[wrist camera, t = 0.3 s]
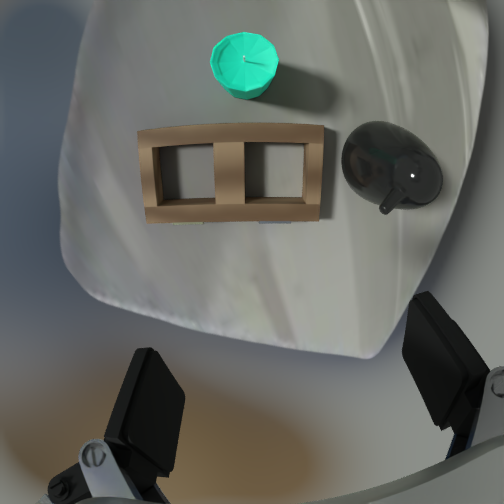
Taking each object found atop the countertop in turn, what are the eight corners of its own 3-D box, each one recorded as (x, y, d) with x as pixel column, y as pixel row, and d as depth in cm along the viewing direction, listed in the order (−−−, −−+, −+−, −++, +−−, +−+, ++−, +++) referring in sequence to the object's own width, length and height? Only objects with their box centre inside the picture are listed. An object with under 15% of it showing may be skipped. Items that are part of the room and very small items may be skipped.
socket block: (145, 129, 32) (137, 131, 30) (318, 124, 32) (324, 125, 30) (153, 218, 38) (147, 226, 35) (313, 216, 38) (318, 224, 35)
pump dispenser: (316, 146, 34) (359, 165, 20) (377, 107, 31) (446, 108, 17) (355, 207, 37) (406, 258, 24) (410, 169, 35) (479, 202, 21)
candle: (212, 87, 30) (194, 72, 19) (235, 48, 28) (229, 16, 17) (256, 107, 32) (259, 101, 21) (279, 68, 29) (293, 45, 18)
